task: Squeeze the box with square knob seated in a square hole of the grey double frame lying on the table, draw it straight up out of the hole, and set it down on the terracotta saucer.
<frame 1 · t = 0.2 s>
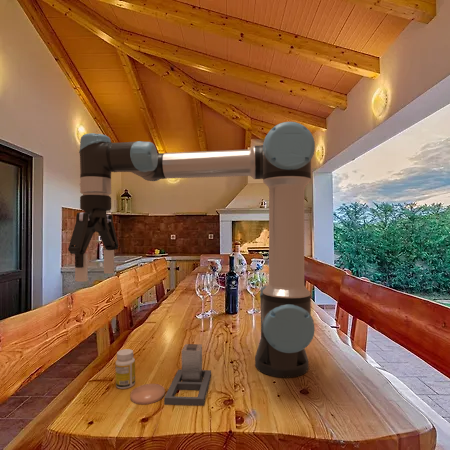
hand: (96, 277, 82), 27 cm above the table, fingers open, 13 cm apart
supplement bottle: (125, 385, 81), on the table
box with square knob: (192, 382, 82), resting in grey double frame
grey double frame: (189, 388, 79), on the table
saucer: (147, 395, 76), on the table
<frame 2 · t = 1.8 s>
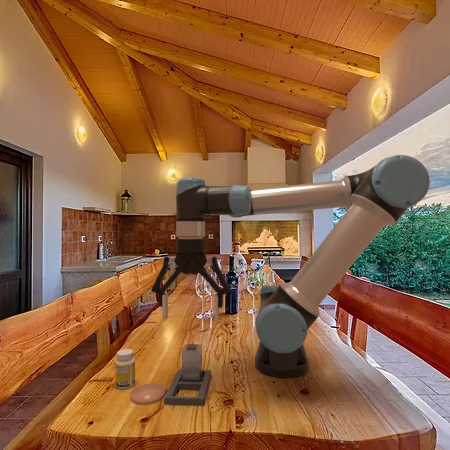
hand: (190, 319, 82), 16 cm above the table, fingers open, 13 cm apart
nothing on the table moved.
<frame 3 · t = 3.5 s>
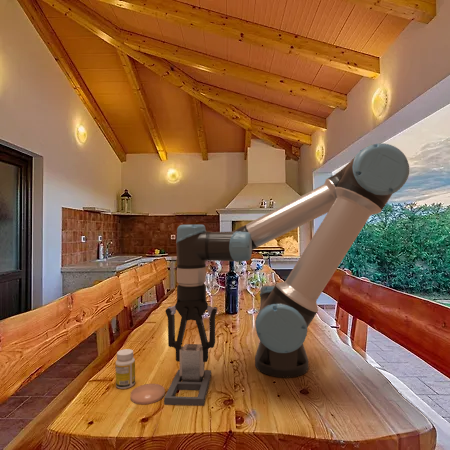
hand: (192, 373, 82), 2 cm above the table, fingers closed on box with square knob, 4 cm apart
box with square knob: (192, 382, 82), resting in grey double frame, touching gripper
everything else where it was.
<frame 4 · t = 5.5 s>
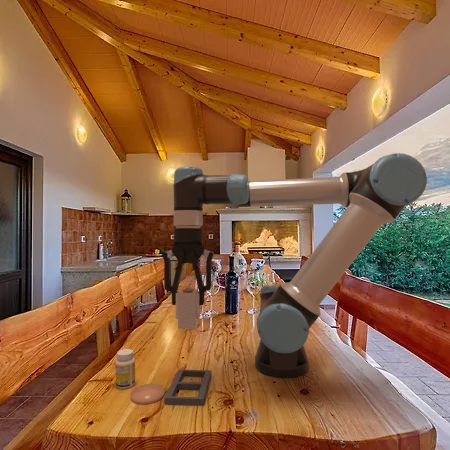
hand: (188, 317, 82), 17 cm above the table, fingers closed on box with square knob, 4 cm apart
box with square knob: (188, 325, 82), point 15 cm above the table, touching gripper
everything else where it was.
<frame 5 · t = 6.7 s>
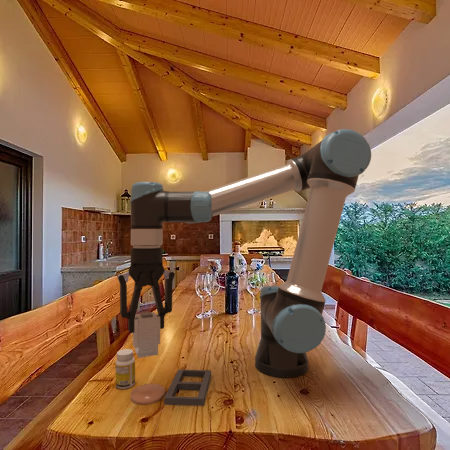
hand: (146, 343, 76), 12 cm above the table, fingers closed on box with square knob, 4 cm apart
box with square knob: (146, 352, 76), point 10 cm above the table, touching gripper
everything else where it was.
when the fingers open (4 cm above the table, at t = 7.7 s): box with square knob drops 1 cm, resting on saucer.
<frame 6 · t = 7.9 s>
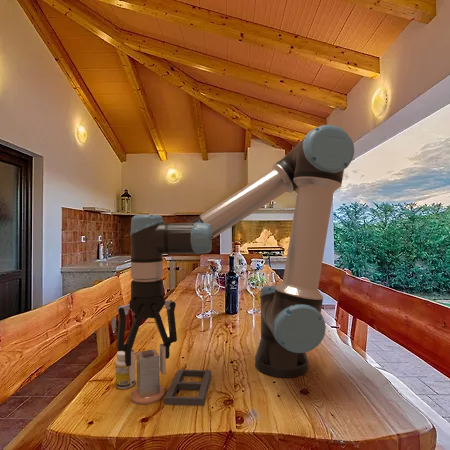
hand: (147, 375, 76), 5 cm above the table, fingers open, 7 cm apart
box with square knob: (148, 391, 76), point 1 cm above the table, touching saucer
everything else where it was.
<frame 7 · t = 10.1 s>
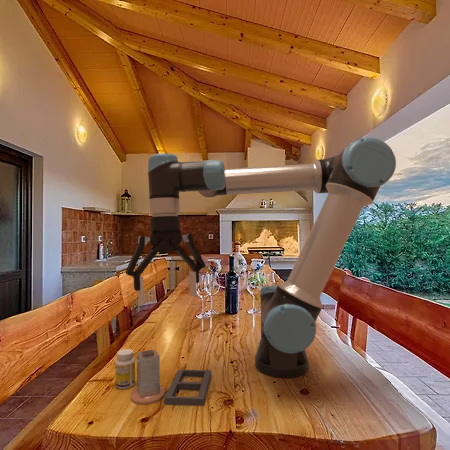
hand: (168, 299, 80), 22 cm above the table, fingers open, 13 cm apart
nothing on the table moved.
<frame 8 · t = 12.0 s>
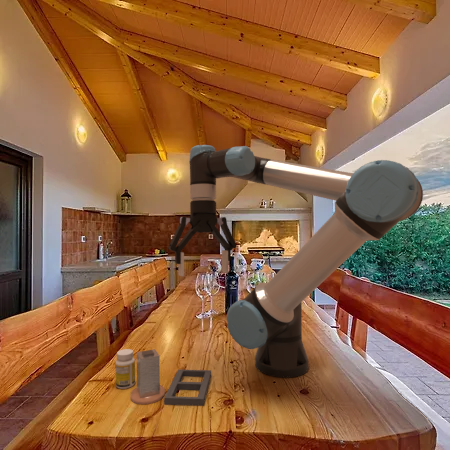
hand: (203, 274, 91), 27 cm above the table, fingers open, 13 cm apart
nothing on the table moved.
at the end: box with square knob 0.1 cm from the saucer (horizontally); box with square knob point 0.8 cm above the table; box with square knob tilted 0° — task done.
